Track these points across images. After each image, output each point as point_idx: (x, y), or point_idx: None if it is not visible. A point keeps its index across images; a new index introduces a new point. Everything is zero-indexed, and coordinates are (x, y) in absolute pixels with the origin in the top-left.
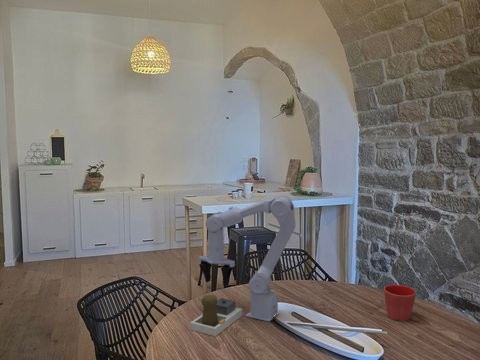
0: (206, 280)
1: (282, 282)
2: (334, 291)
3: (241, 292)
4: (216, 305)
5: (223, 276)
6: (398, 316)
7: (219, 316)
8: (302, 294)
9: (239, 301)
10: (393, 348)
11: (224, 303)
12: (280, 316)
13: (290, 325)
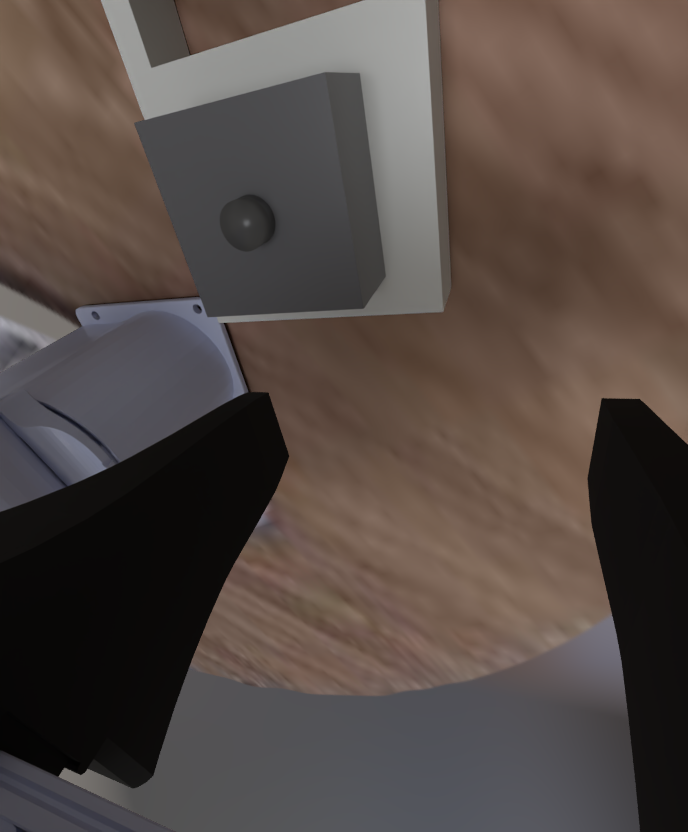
0: (621, 412)
1: (374, 677)
2: None
3: (484, 576)
4: (263, 88)
5: (137, 474)
6: None
7: (234, 44)
8: (232, 598)
9: (412, 473)
10: None
11: (228, 199)
12: None
13: (9, 327)
